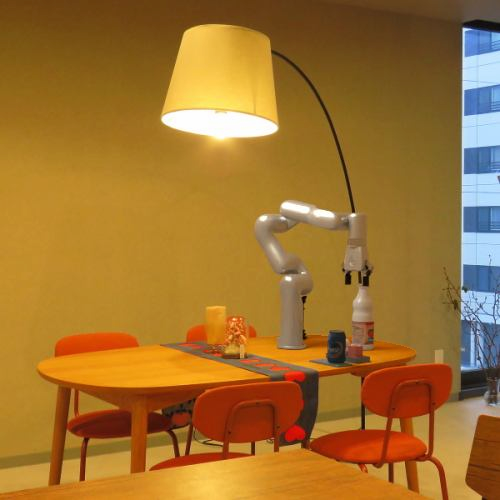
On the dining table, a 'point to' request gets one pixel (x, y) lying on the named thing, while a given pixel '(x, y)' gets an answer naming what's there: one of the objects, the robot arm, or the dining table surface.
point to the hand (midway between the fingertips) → (356, 285)
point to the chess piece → (303, 316)
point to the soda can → (336, 347)
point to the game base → (356, 359)
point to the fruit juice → (363, 319)
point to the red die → (355, 350)
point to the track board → (325, 362)
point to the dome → (347, 345)
